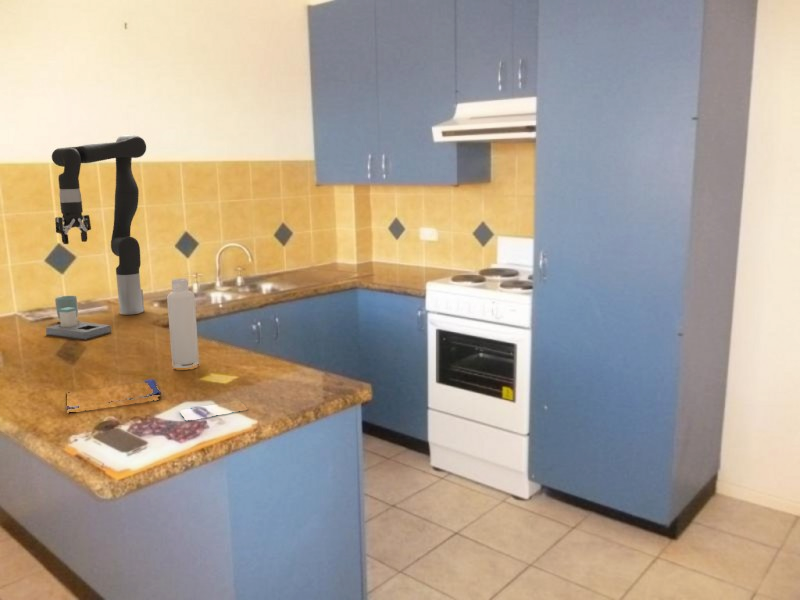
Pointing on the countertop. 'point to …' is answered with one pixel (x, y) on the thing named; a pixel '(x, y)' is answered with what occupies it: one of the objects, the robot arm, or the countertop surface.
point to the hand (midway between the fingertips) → (75, 242)
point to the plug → (68, 317)
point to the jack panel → (79, 331)
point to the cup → (66, 303)
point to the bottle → (182, 325)
